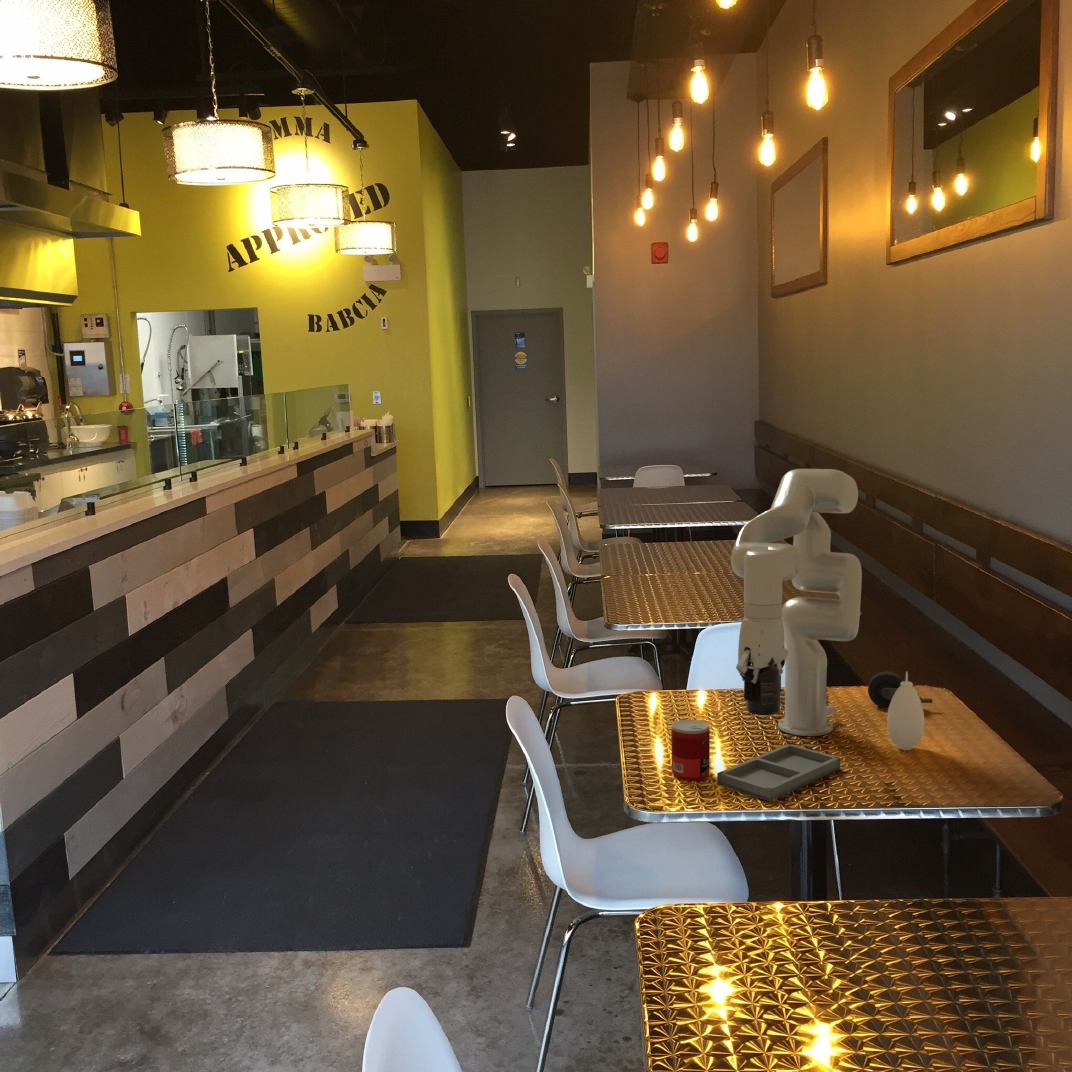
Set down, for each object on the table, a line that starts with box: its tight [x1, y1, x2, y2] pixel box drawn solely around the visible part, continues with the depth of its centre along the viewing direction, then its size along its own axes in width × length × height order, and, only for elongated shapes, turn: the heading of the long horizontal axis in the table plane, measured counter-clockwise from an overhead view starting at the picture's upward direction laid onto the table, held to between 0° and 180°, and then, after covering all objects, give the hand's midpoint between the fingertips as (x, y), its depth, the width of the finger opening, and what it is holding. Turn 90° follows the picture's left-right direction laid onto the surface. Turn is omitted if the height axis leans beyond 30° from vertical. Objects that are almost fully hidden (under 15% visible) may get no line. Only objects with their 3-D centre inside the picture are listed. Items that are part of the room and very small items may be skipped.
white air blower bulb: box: [886, 670, 925, 751], centre depth 235 cm, size 8×8×18 cm
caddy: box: [716, 743, 841, 802], centre depth 222 cm, size 25×13×2 cm, turn 132°
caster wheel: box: [867, 670, 933, 709], centre depth 265 cm, size 6×10×15 cm
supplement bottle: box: [745, 657, 781, 716], centre depth 215 cm, size 7×7×12 cm
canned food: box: [670, 719, 711, 782], centre depth 224 cm, size 8×8×11 cm
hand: (762, 695), depth 216 cm, fingers closed on supplement bottle, 6 cm apart
